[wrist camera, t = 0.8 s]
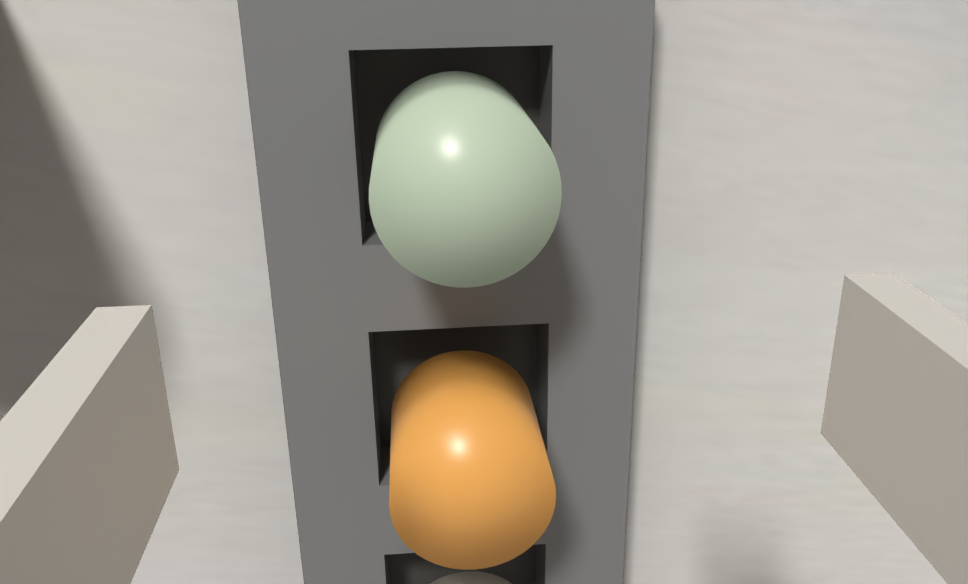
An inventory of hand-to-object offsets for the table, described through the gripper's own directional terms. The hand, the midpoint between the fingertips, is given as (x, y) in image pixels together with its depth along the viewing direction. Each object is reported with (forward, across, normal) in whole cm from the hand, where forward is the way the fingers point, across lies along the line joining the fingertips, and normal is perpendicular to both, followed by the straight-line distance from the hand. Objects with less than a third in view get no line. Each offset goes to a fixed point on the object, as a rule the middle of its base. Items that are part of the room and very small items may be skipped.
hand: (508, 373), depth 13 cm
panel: (+18, 0, -9) cm, 20 cm away
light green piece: (+14, 0, 0) cm, 14 cm away
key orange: (+14, 0, -9) cm, 17 cm away
